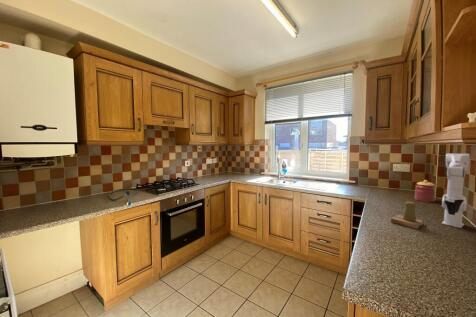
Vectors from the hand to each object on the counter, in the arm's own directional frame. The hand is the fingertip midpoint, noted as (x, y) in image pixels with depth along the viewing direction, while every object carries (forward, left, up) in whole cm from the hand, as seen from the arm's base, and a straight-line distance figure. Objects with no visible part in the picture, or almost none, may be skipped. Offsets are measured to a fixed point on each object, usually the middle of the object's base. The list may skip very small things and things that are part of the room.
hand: (453, 213), depth 108 cm
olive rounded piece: (+5, -17, -8) cm, 19 cm away
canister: (-69, -27, -11) cm, 74 cm away
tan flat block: (+5, -18, -10) cm, 22 cm away
